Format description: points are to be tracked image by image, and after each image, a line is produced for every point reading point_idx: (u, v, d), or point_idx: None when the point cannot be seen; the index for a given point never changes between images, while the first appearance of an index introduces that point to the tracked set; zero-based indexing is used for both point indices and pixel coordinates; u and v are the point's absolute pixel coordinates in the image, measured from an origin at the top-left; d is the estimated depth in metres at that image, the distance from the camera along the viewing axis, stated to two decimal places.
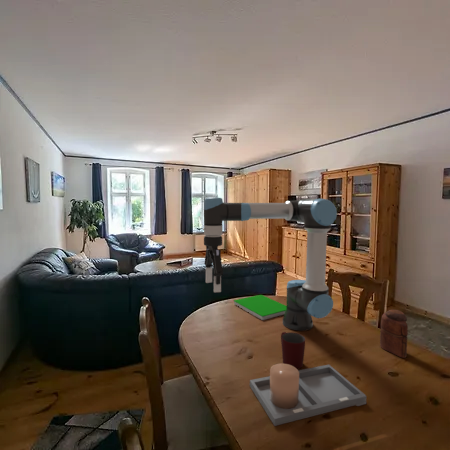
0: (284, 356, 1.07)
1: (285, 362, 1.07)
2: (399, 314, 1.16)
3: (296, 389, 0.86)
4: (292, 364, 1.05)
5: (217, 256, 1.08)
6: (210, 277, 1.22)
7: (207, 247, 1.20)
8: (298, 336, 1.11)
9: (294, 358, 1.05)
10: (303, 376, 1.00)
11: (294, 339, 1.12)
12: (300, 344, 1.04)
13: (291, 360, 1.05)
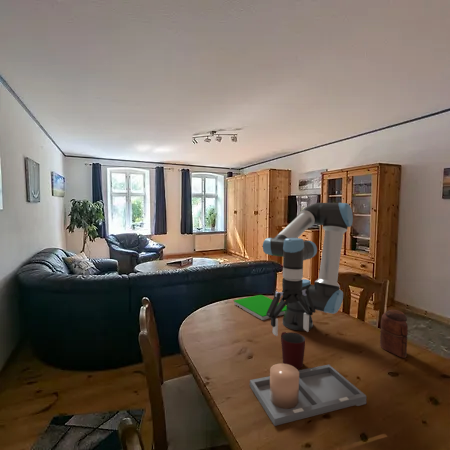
0: (284, 356, 1.07)
1: (285, 362, 1.07)
2: (399, 314, 1.16)
3: (296, 389, 0.86)
4: (292, 364, 1.05)
5: (275, 298, 1.06)
6: (306, 325, 1.11)
7: None
8: (298, 336, 1.11)
9: (294, 358, 1.05)
10: (303, 376, 1.00)
11: (294, 339, 1.12)
12: (300, 344, 1.04)
13: (291, 360, 1.05)
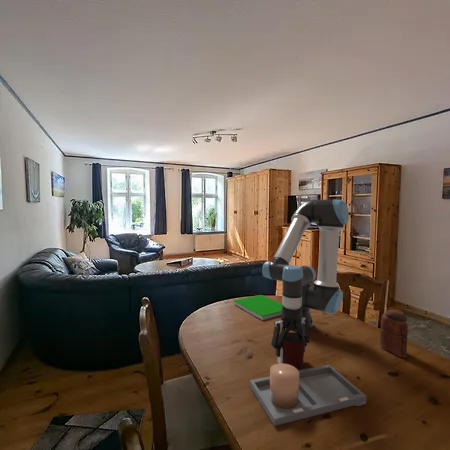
0: (284, 356, 1.07)
1: (285, 362, 1.07)
2: (399, 314, 1.16)
3: (296, 389, 0.86)
4: (292, 364, 1.05)
5: (276, 328, 1.08)
6: None
7: None
8: None
9: (294, 358, 1.05)
10: (303, 376, 1.00)
11: (294, 339, 1.12)
12: (300, 344, 1.04)
13: (291, 360, 1.05)
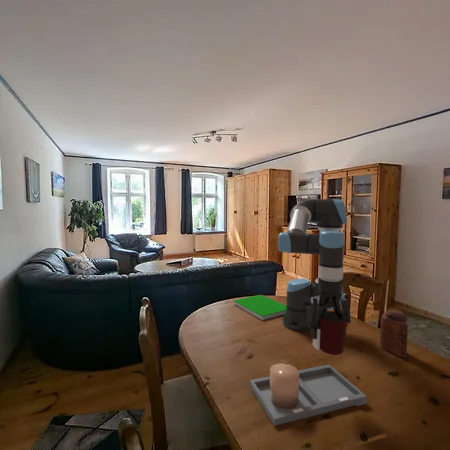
0: (322, 338, 0.90)
1: (323, 345, 0.90)
2: (399, 314, 1.16)
3: (296, 389, 0.86)
4: (332, 347, 0.88)
5: (312, 305, 0.90)
6: None
7: None
8: (336, 316, 0.94)
9: (335, 340, 0.87)
10: (303, 376, 1.00)
11: (332, 318, 0.95)
12: (343, 323, 0.87)
13: (331, 343, 0.88)
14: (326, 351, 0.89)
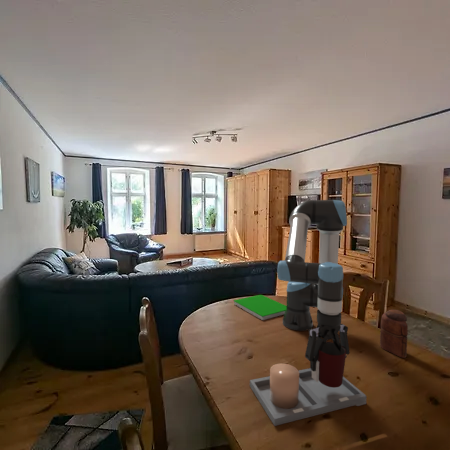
0: (321, 370, 0.90)
1: (322, 377, 0.90)
2: (399, 314, 1.16)
3: (296, 389, 0.86)
4: (331, 380, 0.89)
5: (311, 337, 0.91)
6: None
7: None
8: (335, 347, 0.95)
9: (334, 373, 0.88)
10: (303, 376, 1.00)
11: (331, 349, 0.96)
12: (341, 356, 0.88)
13: (329, 376, 0.88)
14: (325, 384, 0.90)
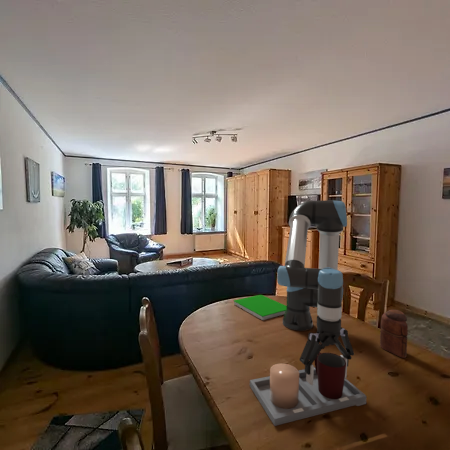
0: (321, 382, 0.91)
1: (322, 389, 0.91)
2: (399, 314, 1.16)
3: (296, 389, 0.86)
4: (331, 392, 0.89)
5: (309, 341, 0.91)
6: None
7: (340, 330, 0.95)
8: (335, 358, 0.95)
9: (334, 385, 0.88)
10: (303, 376, 1.00)
11: (331, 360, 0.96)
12: (341, 368, 0.88)
13: (330, 387, 0.89)
14: (325, 395, 0.90)
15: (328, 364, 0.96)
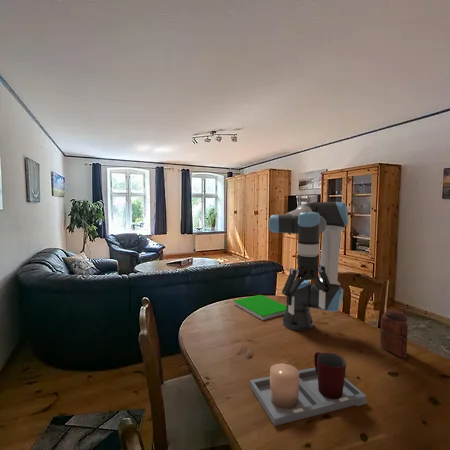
0: (321, 382, 0.91)
1: (322, 389, 0.91)
2: (399, 314, 1.16)
3: (296, 389, 0.86)
4: (331, 392, 0.89)
5: (291, 275, 1.01)
6: (322, 302, 1.06)
7: None
8: (335, 358, 0.95)
9: (334, 385, 0.88)
10: (303, 376, 1.00)
11: (331, 360, 0.96)
12: (341, 368, 0.88)
13: (330, 387, 0.89)
14: (325, 395, 0.90)
15: (328, 364, 0.96)
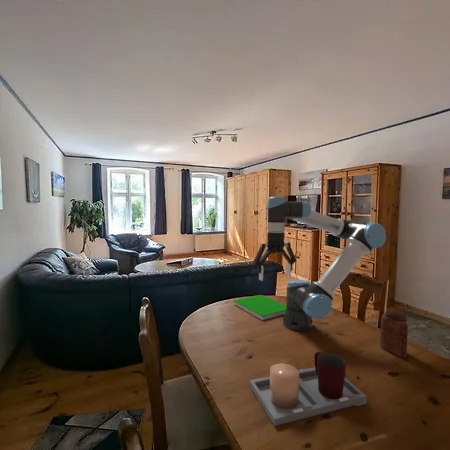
0: (321, 382, 0.91)
1: (322, 389, 0.91)
2: (399, 314, 1.16)
3: (296, 389, 0.86)
4: (331, 392, 0.89)
5: (261, 248, 1.23)
6: (288, 273, 1.27)
7: None
8: (335, 358, 0.95)
9: (334, 385, 0.88)
10: (303, 376, 1.00)
11: (331, 360, 0.96)
12: (341, 368, 0.88)
13: (330, 387, 0.89)
14: (325, 395, 0.90)
15: (328, 364, 0.96)
